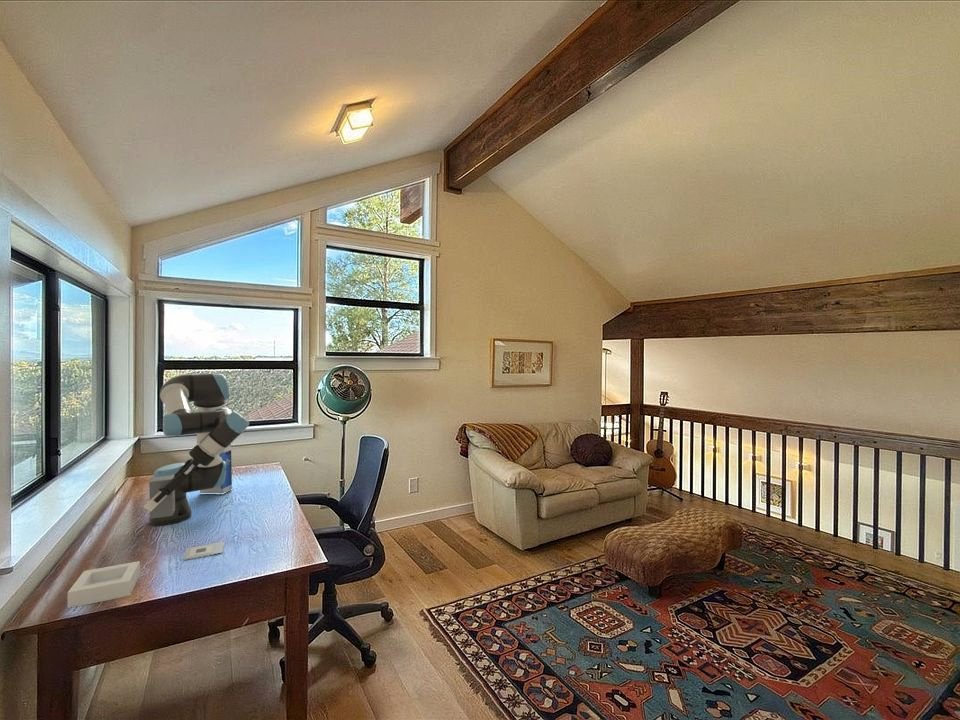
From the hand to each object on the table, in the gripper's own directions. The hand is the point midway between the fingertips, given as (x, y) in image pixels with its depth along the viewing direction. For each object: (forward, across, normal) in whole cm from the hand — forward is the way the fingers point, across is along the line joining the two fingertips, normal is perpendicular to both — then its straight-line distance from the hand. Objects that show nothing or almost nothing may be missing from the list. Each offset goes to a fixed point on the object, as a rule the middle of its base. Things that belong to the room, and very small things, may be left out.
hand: (149, 505), depth 143 cm
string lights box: (+6, +88, -26) cm, 92 cm away
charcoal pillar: (0, 0, -5) cm, 5 cm away
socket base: (+23, -6, -9) cm, 25 cm away
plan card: (+6, +11, -26) cm, 29 cm away
